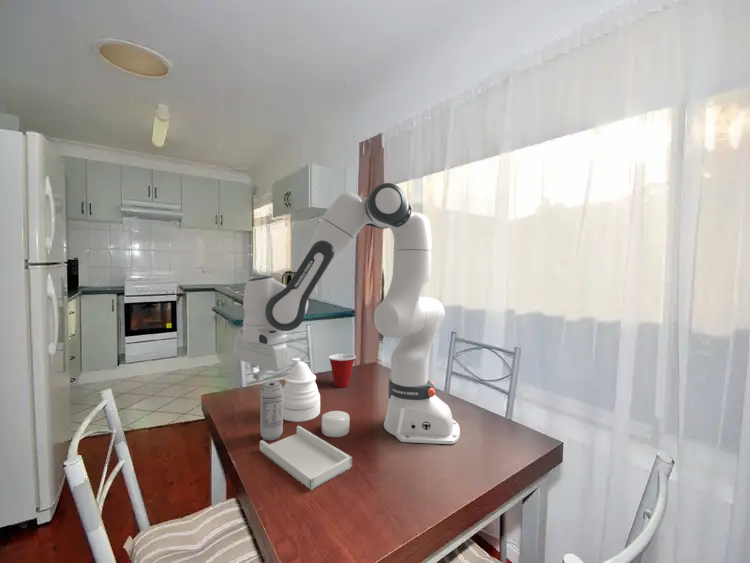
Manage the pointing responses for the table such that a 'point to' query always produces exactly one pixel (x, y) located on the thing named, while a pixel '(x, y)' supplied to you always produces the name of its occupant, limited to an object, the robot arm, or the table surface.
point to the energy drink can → (271, 410)
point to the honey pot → (300, 394)
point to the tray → (307, 458)
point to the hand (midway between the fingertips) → (258, 379)
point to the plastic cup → (342, 369)
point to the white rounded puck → (335, 423)
